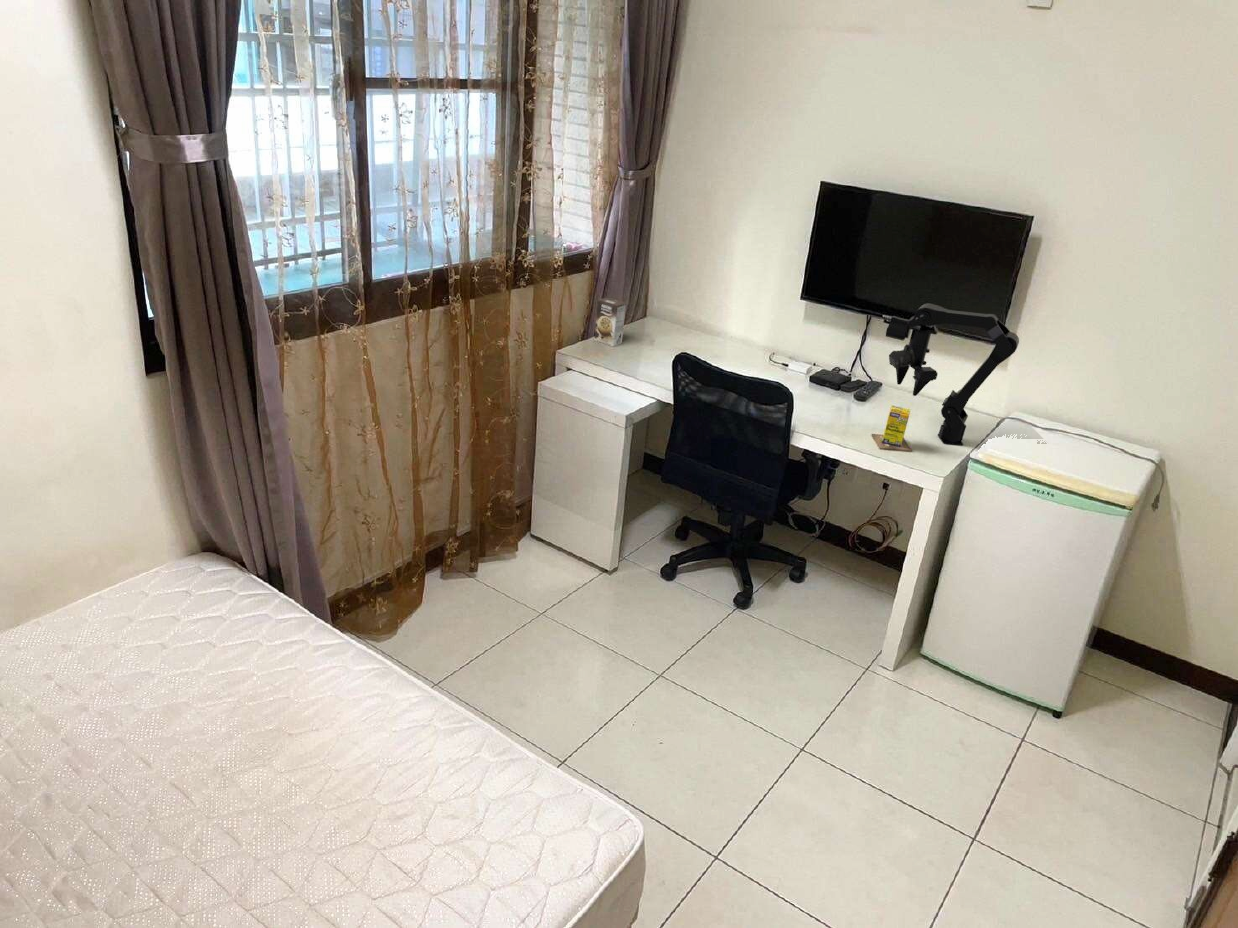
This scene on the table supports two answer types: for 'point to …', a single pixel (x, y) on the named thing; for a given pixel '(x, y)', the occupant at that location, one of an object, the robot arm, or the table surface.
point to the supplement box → (896, 426)
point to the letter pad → (885, 446)
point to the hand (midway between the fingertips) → (906, 389)
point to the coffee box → (610, 321)
